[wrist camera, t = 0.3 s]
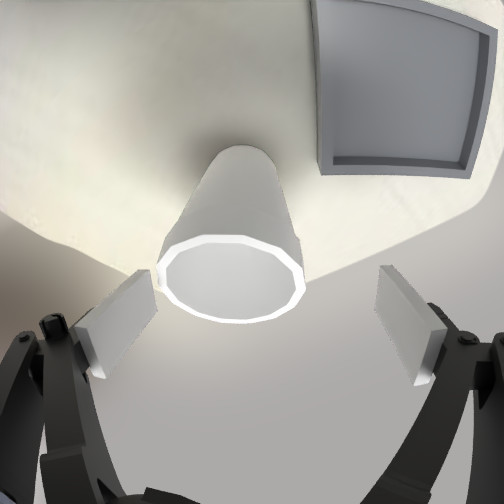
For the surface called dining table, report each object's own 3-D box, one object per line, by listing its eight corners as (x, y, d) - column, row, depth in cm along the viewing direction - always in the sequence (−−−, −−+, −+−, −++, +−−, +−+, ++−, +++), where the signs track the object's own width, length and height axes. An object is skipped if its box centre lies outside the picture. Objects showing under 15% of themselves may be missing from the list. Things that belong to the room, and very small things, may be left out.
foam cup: (232, 109, 22) (205, 204, 13) (312, 168, 26) (336, 281, 17) (177, 182, 28) (137, 290, 19) (250, 225, 32) (244, 334, 23)
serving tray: (309, -13, 13) (314, -16, 12) (481, 24, 12) (497, 29, 10) (316, 161, 25) (320, 175, 23) (458, 165, 23) (469, 179, 22)
